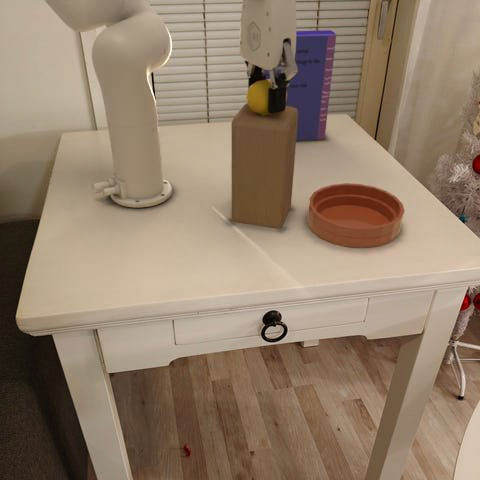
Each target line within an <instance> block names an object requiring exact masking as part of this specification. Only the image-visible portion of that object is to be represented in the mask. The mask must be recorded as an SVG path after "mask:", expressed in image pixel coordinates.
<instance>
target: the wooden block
mask: <svg viewBox="0 0 480 480" xmlns="http://www.w3.org/2000/svg"><path fill="white" fill-rule="evenodd" d="M297 124H298V110H297V108H294V107H289V106H286V107H285V110H284V111H282V112H277V113H273V114H268V115H263V116H262V115H261V114H258V113H255V112H254V111H252V110H251V109H250V107H249V106H248V104H247V102H246V103H244V104H243V106H242V107H241V109H240V110H239V111H238V113H236V115H235V116H234V117H233V119H232V121H231V220H232V222H234V223H240V224H247V225H254V226H261V227H266V228H274V229H280V228H282V226H283V225H284V222H285V220H286V217H287V215H288V213H289V211H290V209H291V207H292V200H293V188H294V187H293V186H294V175H295V174H294V173H295V160H296V149H297V141H296V137H297Z"/></svg>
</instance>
